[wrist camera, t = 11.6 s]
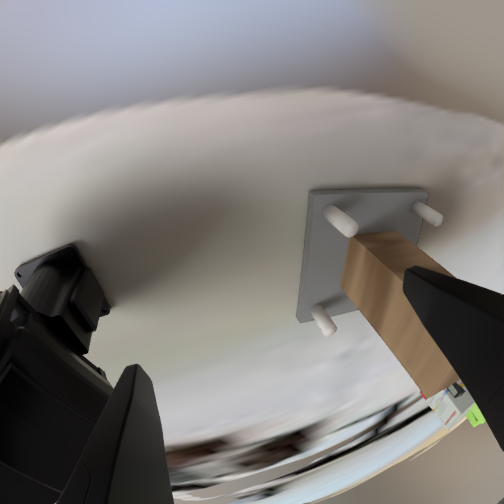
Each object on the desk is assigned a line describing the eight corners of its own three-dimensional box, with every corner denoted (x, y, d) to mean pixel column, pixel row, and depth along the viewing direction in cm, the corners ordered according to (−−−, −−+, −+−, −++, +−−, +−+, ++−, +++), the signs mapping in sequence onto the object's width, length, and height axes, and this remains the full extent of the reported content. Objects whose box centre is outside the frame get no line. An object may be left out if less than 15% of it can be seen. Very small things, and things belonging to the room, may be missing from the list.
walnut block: (339, 285, 25) (426, 399, 14) (350, 234, 23) (464, 344, 12) (382, 278, 26) (470, 372, 15) (395, 230, 24) (503, 320, 13)
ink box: (435, 382, 51) (462, 419, 41) (419, 393, 50) (446, 431, 40) (446, 360, 46) (478, 400, 36) (429, 372, 46) (461, 414, 36)
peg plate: (296, 316, 27) (312, 346, 24) (309, 190, 21) (335, 210, 18) (395, 293, 30) (416, 315, 26) (421, 188, 24) (451, 204, 20)
